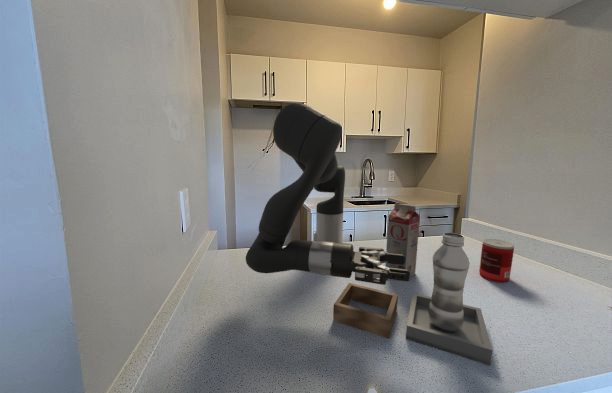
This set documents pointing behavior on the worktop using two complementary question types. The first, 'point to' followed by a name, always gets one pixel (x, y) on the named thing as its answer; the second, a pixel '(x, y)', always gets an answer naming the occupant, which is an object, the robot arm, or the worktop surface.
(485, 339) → the tray
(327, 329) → the worktop surface
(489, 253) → the canned food
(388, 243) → the juice carton
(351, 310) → the open wooden box
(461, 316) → the plastic bottle
